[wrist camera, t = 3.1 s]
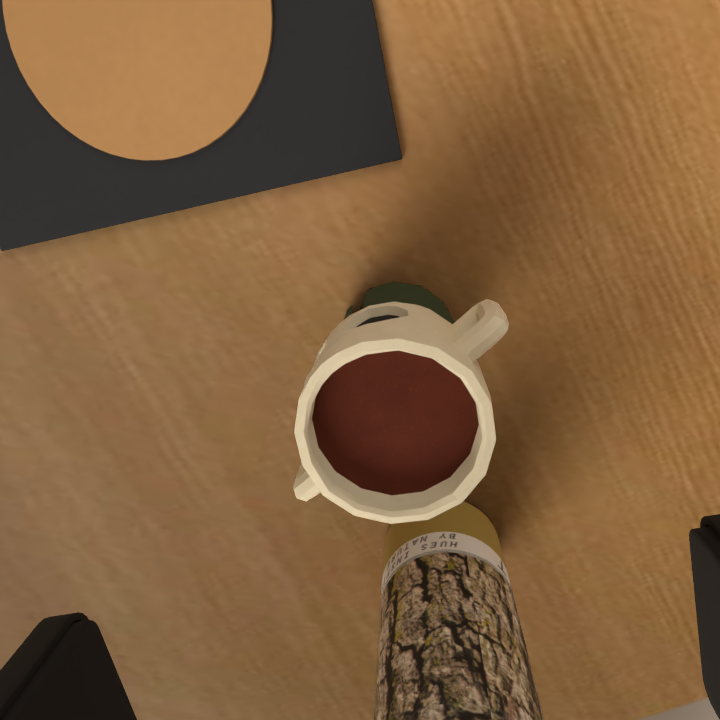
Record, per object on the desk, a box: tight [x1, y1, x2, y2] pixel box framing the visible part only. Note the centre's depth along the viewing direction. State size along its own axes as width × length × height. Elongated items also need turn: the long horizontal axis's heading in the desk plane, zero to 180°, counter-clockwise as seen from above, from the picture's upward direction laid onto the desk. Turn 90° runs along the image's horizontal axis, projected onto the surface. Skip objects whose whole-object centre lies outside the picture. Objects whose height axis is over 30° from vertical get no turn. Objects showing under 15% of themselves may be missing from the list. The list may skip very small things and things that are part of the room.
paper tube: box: [374, 501, 544, 720], centre depth 26 cm, size 7×7×25 cm
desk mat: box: [0, 0, 402, 251], centre depth 30 cm, size 22×18×1 cm
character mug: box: [293, 282, 509, 524], centre depth 28 cm, size 11×7×13 cm, turn 134°
